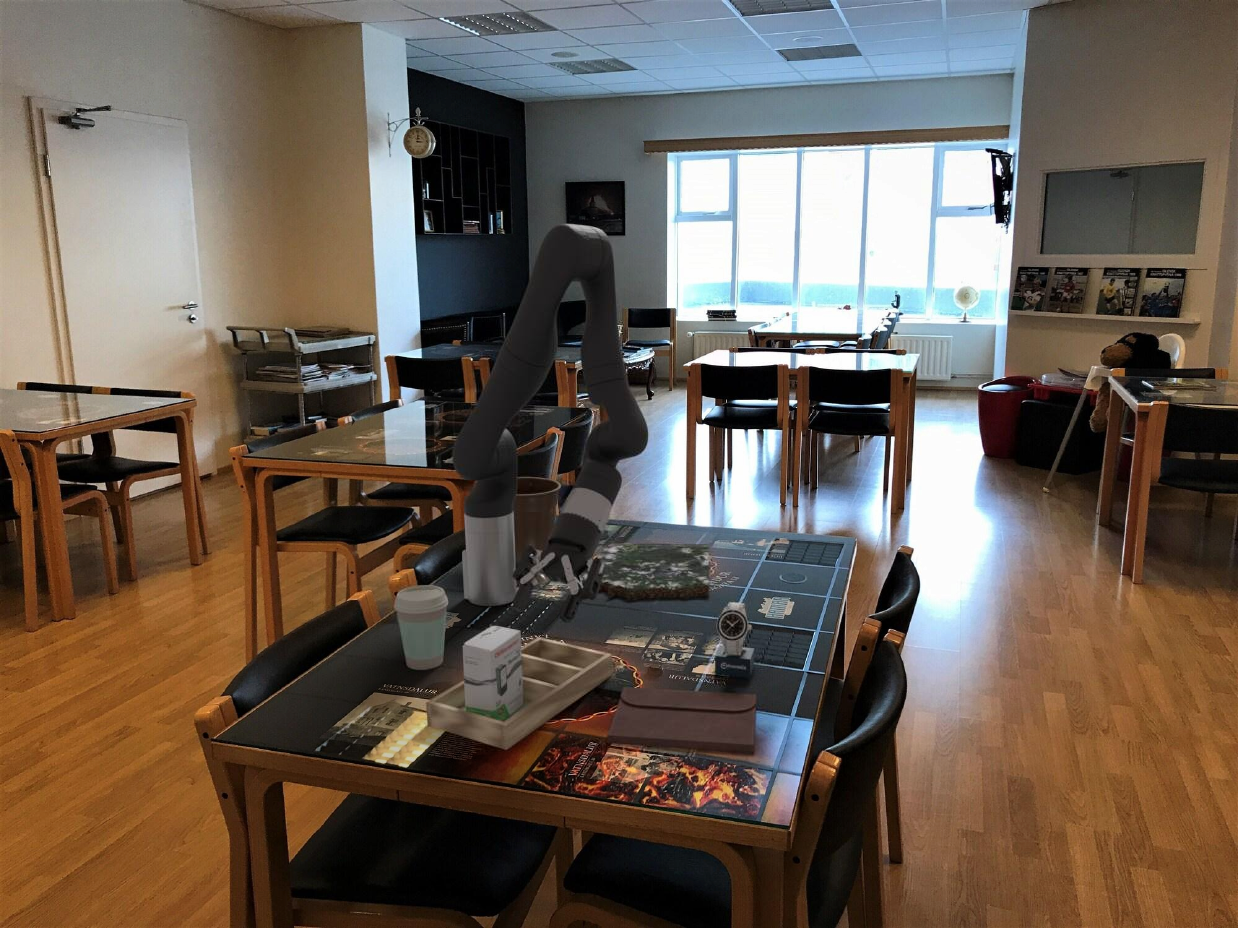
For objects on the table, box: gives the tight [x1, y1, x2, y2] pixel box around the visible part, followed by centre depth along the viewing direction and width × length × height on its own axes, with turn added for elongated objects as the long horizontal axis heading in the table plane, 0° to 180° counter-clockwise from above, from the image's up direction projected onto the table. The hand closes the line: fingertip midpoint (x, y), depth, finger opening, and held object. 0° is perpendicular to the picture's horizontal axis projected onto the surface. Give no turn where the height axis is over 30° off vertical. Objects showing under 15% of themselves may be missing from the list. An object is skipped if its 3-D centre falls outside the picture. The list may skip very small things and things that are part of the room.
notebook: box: [606, 686, 757, 754], centre depth 138 cm, size 15×20×2 cm
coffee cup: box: [393, 584, 449, 671], centre depth 158 cm, size 9×9×12 cm
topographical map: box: [580, 542, 710, 601], centre depth 202 cm, size 26×33×3 cm
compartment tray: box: [425, 636, 613, 751], centre depth 145 cm, size 14×27×4 cm, turn 149°
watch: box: [714, 601, 755, 679], centre depth 153 cm, size 6×8×11 cm
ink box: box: [462, 625, 523, 722], centre depth 139 cm, size 9×5×12 cm, turn 156°
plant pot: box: [513, 476, 562, 566], centre depth 211 cm, size 16×16×16 cm
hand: (540, 615), depth 147 cm, fingers open, 8 cm apart
